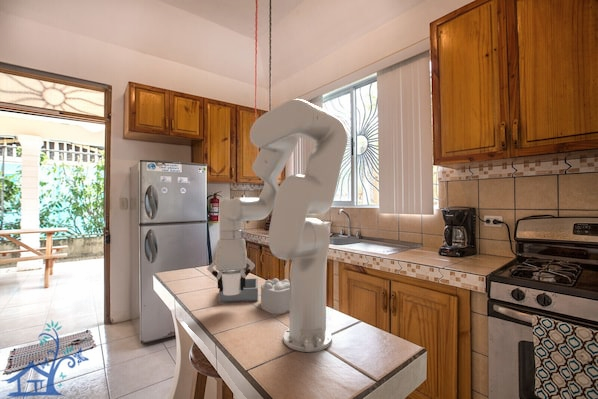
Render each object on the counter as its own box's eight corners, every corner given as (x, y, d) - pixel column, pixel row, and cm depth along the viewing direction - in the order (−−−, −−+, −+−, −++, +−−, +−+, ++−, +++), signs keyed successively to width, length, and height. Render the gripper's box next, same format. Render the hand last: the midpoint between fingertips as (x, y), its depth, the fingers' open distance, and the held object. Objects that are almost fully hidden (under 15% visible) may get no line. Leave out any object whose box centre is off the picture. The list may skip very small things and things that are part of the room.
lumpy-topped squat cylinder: (275, 315, 85) (275, 288, 86) (253, 304, 95) (253, 279, 95) (300, 307, 92) (300, 282, 92) (277, 297, 102) (277, 274, 102)
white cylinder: (244, 289, 93) (244, 269, 93) (238, 296, 86) (238, 274, 86) (225, 289, 94) (225, 269, 94) (217, 296, 87) (217, 274, 87)
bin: (257, 301, 98) (257, 288, 98) (219, 302, 96) (219, 289, 96) (257, 289, 111) (257, 278, 112) (223, 290, 109) (223, 279, 109)
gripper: (257, 234, 96) (257, 285, 95) (206, 235, 93) (206, 288, 92) (257, 235, 88) (258, 291, 88) (202, 237, 86) (202, 295, 85)
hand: (231, 289), depth 90 cm, fingers closed on white cylinder, 6 cm apart
